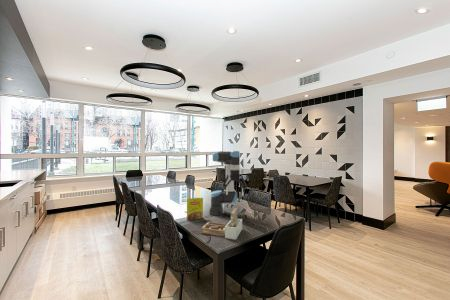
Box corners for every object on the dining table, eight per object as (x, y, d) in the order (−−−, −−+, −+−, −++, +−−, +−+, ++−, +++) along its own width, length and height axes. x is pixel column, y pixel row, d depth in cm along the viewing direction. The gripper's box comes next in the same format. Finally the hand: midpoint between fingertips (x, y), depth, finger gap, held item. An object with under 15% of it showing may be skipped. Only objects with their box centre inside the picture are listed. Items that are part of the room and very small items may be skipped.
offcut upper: (210, 228, 177) (210, 226, 177) (218, 228, 178) (218, 225, 178) (211, 230, 173) (211, 227, 173) (218, 229, 174) (218, 227, 174)
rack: (208, 226, 187) (208, 221, 187) (228, 228, 181) (229, 224, 181) (201, 233, 172) (201, 228, 172) (223, 236, 166) (223, 231, 166)
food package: (187, 219, 203) (187, 198, 203) (186, 219, 204) (187, 198, 204) (202, 218, 207) (203, 197, 207) (202, 217, 208) (202, 197, 208)
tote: (232, 228, 183) (232, 218, 182) (242, 229, 180) (242, 219, 180) (224, 238, 163) (225, 226, 163) (235, 239, 160) (235, 228, 160)
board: (230, 235, 166) (230, 212, 166) (234, 229, 178) (234, 208, 177) (233, 235, 166) (233, 212, 165) (237, 229, 177) (237, 208, 177)
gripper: (219, 169, 176) (219, 194, 177) (248, 171, 168) (248, 197, 169) (222, 168, 183) (222, 192, 184) (250, 169, 175) (250, 195, 176)
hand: (234, 195), depth 177 cm, fingers open, 13 cm apart
